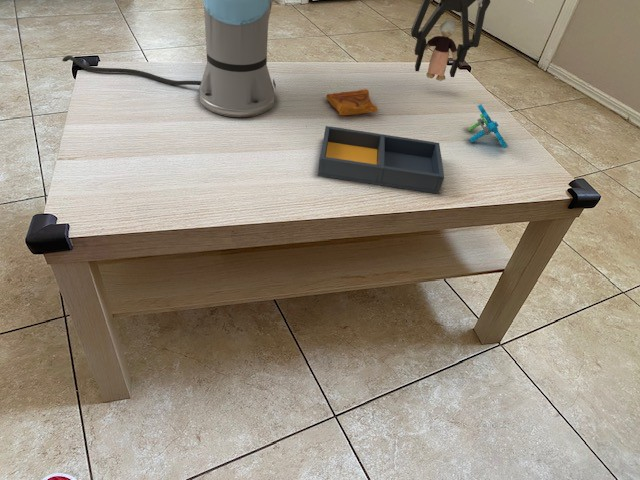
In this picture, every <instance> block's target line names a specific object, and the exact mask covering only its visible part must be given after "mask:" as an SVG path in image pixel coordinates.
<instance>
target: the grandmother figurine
mask: <svg viewBox="0 0 640 480" xmlns="http://www.w3.org/2000/svg"><path fill="white" fill-rule="evenodd" d="M456 29H457V24H456V21H454V19H446V20H444V21H443V22H442V23H441V24H440V26H439V28H438V30H440V34H441V35H436V36H433V37H431V38H430V39H428V40H427V42H426V47H425V51H428V50H429V49H430V48H431V47H434V48H433V50H432V53H431V57H430V59H429V64H428V68H427V72H426V78H428V79H433V78H434V77H435V80H436V81H439V82H442V81H445V80H446V75H445V73H446V70H447V65H448V61H449V56H450V52H451V56H452V61H453V60H456V59H457V48H458V47H457V45H456V43H455V41H454V40H453V39H452V38H450V37H452V35H453V34H454V33H455V31H456ZM436 75H437V76H436Z"/></svg>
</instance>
